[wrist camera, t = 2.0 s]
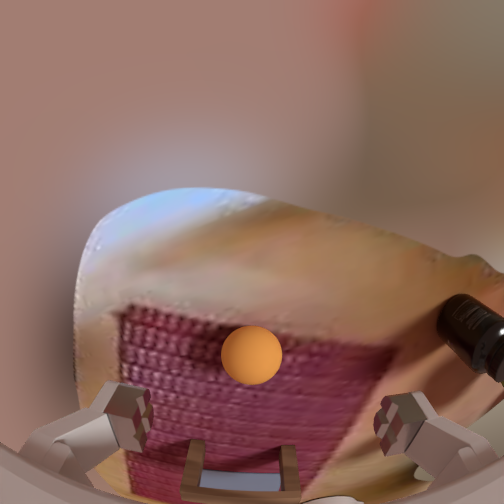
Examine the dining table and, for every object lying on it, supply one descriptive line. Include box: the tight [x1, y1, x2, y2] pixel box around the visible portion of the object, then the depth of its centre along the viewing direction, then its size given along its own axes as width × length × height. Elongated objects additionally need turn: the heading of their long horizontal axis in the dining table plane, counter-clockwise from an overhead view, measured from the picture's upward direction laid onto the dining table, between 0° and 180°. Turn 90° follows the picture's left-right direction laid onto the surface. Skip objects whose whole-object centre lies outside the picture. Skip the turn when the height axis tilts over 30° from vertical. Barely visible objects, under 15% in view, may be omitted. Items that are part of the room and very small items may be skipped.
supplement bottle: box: [437, 294, 504, 383], centre depth 24 cm, size 7×7×12 cm
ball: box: [221, 326, 282, 385], centre depth 28 cm, size 6×6×6 cm
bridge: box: [180, 439, 302, 504], centre depth 31 cm, size 3×15×10 cm, turn 86°
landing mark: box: [200, 469, 281, 491], centre depth 39 cm, size 14×14×1 cm
